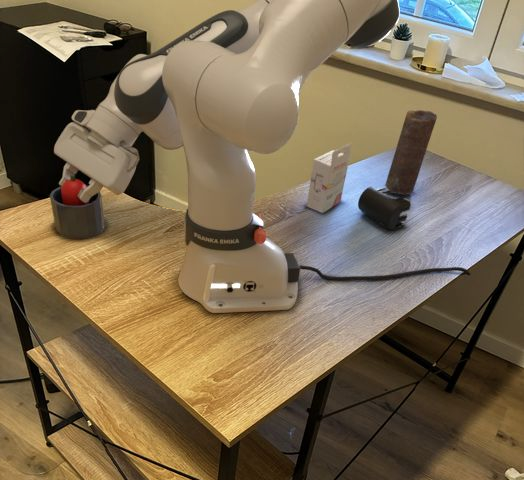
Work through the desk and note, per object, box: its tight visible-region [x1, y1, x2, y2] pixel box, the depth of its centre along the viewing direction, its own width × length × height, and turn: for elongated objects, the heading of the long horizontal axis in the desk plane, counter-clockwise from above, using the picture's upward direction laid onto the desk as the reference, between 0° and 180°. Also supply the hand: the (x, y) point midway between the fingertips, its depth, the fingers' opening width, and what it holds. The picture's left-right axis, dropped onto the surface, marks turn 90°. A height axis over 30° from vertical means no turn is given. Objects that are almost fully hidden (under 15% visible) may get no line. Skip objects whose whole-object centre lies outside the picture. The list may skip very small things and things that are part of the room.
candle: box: [384, 109, 438, 196], centre depth 132 cm, size 8×7×20 cm
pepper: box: [61, 174, 89, 206], centre depth 105 cm, size 5×5×8 cm
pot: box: [49, 184, 105, 240], centre depth 107 cm, size 10×10×7 cm
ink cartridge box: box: [306, 143, 352, 214], centre depth 124 cm, size 9×5×15 cm, turn 143°
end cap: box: [357, 186, 412, 231], centre depth 123 cm, size 10×7×7 cm
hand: (72, 193), depth 104 cm, fingers closed on pepper, 5 cm apart
